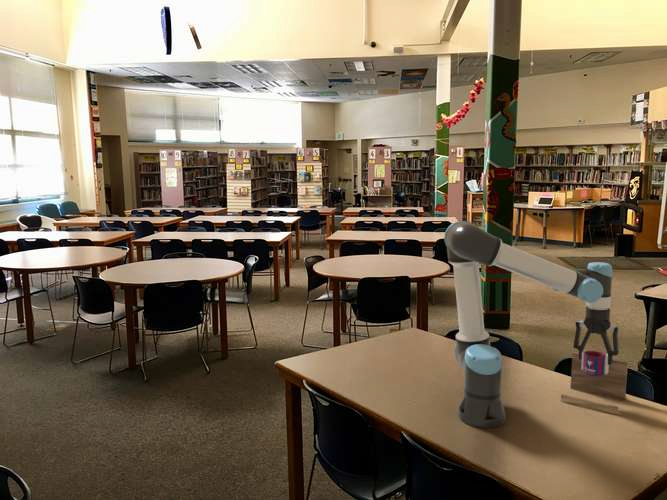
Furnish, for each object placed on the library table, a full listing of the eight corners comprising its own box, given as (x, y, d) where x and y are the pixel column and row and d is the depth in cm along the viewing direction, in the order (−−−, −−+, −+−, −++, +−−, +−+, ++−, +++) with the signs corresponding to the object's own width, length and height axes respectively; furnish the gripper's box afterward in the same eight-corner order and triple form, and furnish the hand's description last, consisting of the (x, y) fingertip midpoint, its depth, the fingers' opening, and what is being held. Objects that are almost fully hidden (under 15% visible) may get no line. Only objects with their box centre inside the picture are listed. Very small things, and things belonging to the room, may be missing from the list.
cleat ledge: (617, 414, 175) (617, 407, 174) (560, 401, 186) (561, 394, 185) (617, 413, 176) (618, 406, 175) (561, 400, 186) (561, 393, 186)
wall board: (624, 400, 186) (627, 362, 184) (570, 388, 197) (572, 352, 195) (625, 397, 188) (628, 360, 186) (572, 385, 199) (574, 350, 197)
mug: (579, 372, 183) (580, 353, 182) (593, 365, 189) (594, 347, 188) (598, 377, 178) (599, 358, 177) (612, 370, 184) (613, 351, 183)
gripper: (632, 308, 177) (628, 373, 181) (570, 301, 189) (567, 361, 192) (628, 313, 171) (624, 380, 175) (565, 305, 183) (562, 368, 187)
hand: (594, 370), depth 184 cm, fingers closed on mug, 7 cm apart
